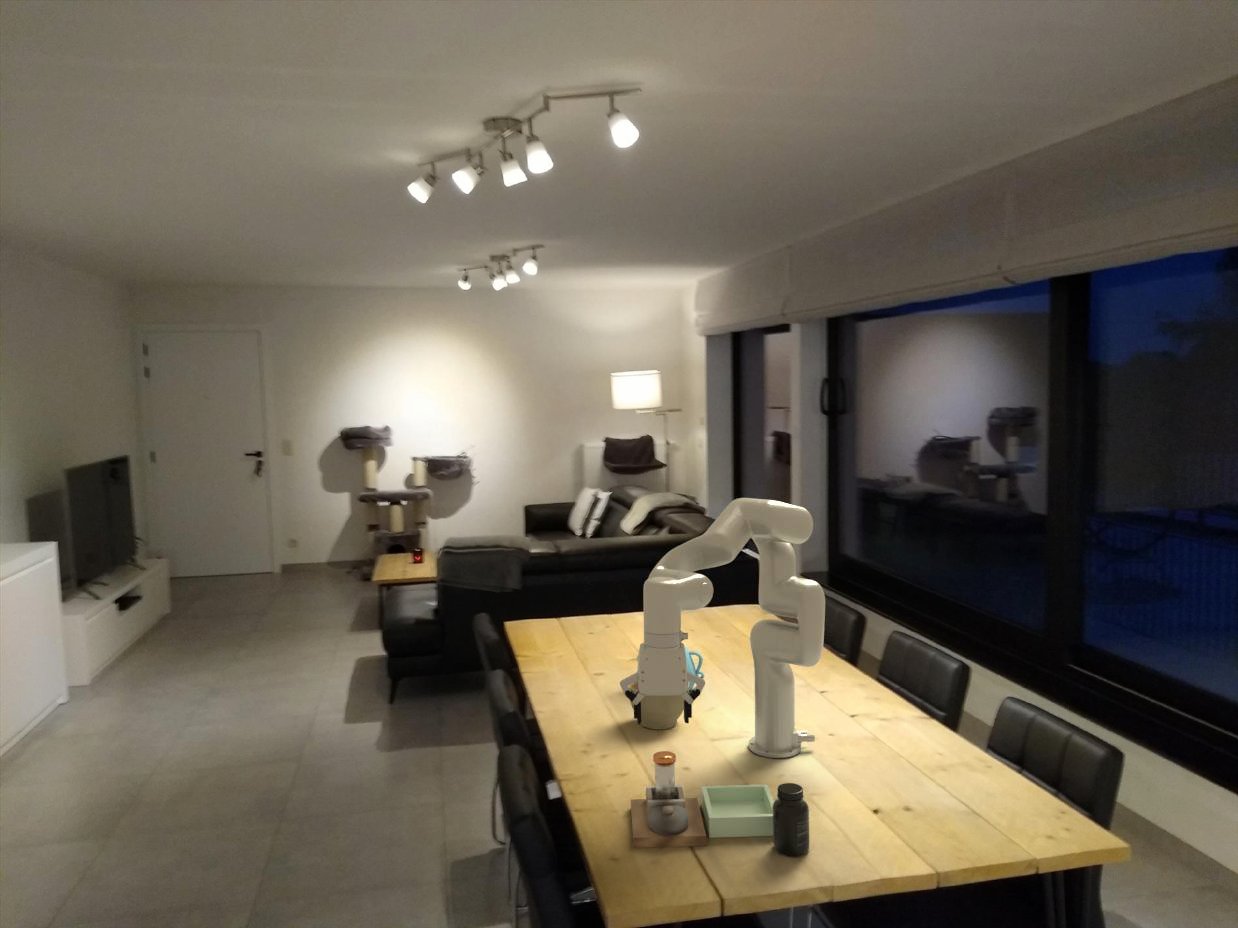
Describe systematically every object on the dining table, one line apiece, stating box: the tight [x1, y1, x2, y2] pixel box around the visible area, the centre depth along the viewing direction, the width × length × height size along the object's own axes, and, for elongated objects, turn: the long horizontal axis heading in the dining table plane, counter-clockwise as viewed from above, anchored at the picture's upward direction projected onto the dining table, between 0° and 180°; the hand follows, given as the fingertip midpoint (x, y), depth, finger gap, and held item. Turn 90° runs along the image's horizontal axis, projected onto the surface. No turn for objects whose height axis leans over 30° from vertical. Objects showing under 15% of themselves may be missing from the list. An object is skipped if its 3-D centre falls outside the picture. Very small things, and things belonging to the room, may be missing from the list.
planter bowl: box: [628, 681, 690, 730], centre depth 235 cm, size 16×16×11 cm
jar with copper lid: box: [652, 750, 677, 800], centre depth 184 cm, size 5×5×11 cm
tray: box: [700, 783, 775, 839], centre depth 183 cm, size 14×14×4 cm
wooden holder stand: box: [630, 784, 707, 849], centre depth 180 cm, size 14×16×6 cm
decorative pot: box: [636, 646, 705, 691], centre depth 262 cm, size 16×16×14 cm
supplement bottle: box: [772, 782, 810, 858], centre depth 171 cm, size 7×7×12 cm
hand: (662, 721), depth 183 cm, fingers open, 9 cm apart
